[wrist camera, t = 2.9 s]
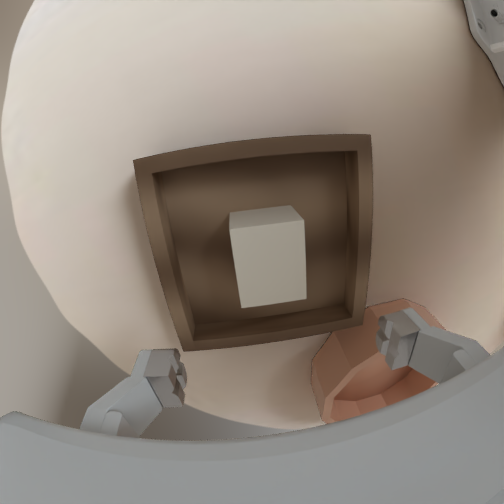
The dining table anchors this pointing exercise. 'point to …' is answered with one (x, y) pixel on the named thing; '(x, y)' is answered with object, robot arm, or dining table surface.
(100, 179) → the dining table surface
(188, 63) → the dining table surface
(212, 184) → the walnut tray
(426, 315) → the terracotta bowl
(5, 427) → the robot arm
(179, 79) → the dining table surface
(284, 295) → the off-white cube block
